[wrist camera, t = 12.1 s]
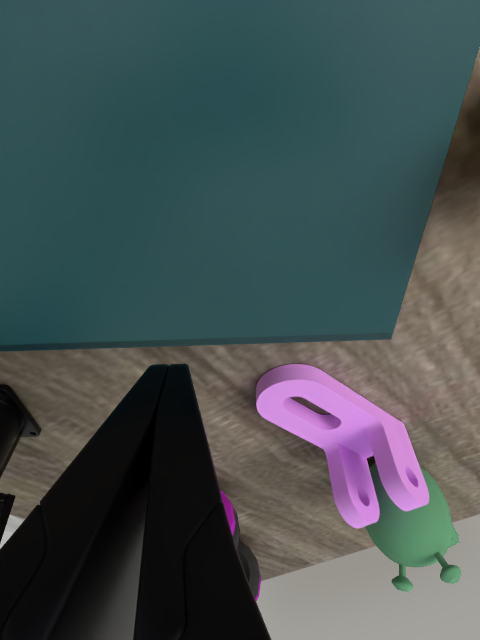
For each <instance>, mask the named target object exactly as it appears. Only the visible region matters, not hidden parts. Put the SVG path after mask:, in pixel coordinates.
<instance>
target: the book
mask: <svg viewBox="0 0 480 640" xmlns="http://www.w3.org/2000/svg"><path fill="white" fill-rule="evenodd" d="M479 47H480V0H0V351H32V350H64V349H96V348H128V347H160V346H192V345H224V344H256V343H288V342H320V341H352V340H384V339H391V338H392V334H393V331H394V328H395V324H396V321H397V318H398V314H399V311H400V308H401V305H402V301H403V298H404V295H405V291H406V288H407V285H408V281H409V278H410V275H411V272H412V268H413V265H414V262H415V258H416V255H417V252H418V248H419V245H420V242H421V238H422V235H423V232H424V229H425V225H426V222H427V219H428V215H429V212H430V209H431V205H432V202H433V199H434V195H435V192H436V189H437V186H438V182H439V179H440V176H441V172H442V169H443V166H444V162H445V159H446V156H447V152H448V149H449V146H450V143H451V139H452V136H453V133H454V129H455V126H456V123H457V119H458V116H459V113H460V110H461V106H462V103H463V100H464V96H465V93H466V90H467V86H468V83H469V80H470V76H471V73H472V70H473V67H474V63H475V60H476V57H477V53H478V50H479Z"/></svg>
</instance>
